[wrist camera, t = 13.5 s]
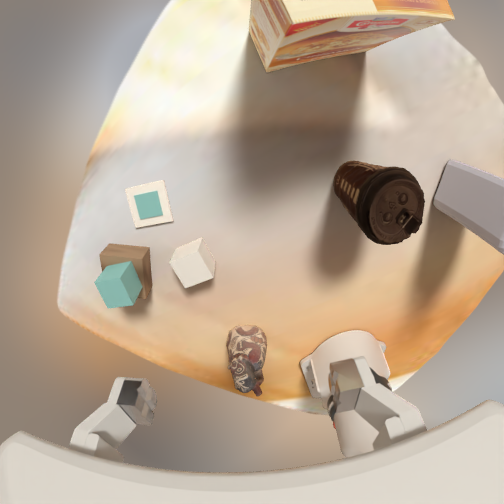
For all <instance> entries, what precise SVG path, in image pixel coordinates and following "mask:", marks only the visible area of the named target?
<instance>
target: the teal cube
mask: <svg viewBox="0 0 504 504" xmlns="http://www.w3.org/2000/svg"><path fill="white" fill-rule="evenodd" d="M94 283H95V285H96V287H97V289H98V291H99V292H100V294H101V296H102V298H103V300H104V302H105V304H106V306H107V308H116V307H124V306H132V305H134V303H135V301H136V299H137V297H138V295H139V293H140V291H141V289H142V284H141V282H140V280H139V278H138V275H137V273H136V271H135V268H134V266H133V264H132V261H129V262H124V263H119V264H114V265H109V266H107V267H106V268H105V269H104V270H103V272H102V273H101V274H100V276H99V277H98V278H97V280H96V281H95V282H94Z"/></svg>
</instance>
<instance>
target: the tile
mask: <svg viewBox="0 0 504 504" xmlns="http://www.w3.org/2000/svg"><path fill="white" fill-rule="evenodd" d="M125 191H126V195H127V199H128V202H129V206H130V210H131V213H132V217H133V220H134V224H135V227H136V228H138V227H143V226H148V225H154V224H160V223H165V222H171V221H173V216H172V211H171V207H170V203H169V199H168V194H167V190H166V186H165V181H164V180H161V181H156V182H152V183H147V184H143V185H139V186H134V187H130V188H126V189H125Z"/></svg>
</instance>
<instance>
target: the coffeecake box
mask: <svg viewBox="0 0 504 504" xmlns="http://www.w3.org/2000/svg"><path fill="white" fill-rule="evenodd" d="M450 20H455V18H454V15H453V13H452V10H451V8H450V6H449V4H448V2H447V0H251V10H250V21H249V32H250V35H251V37H252V40H253V42H254V44H255V47H256V49H257V52H258V54H259V56H260V58H261V61H262V63H263V65H264V68H265V70H266V72H267V73H268V72H272V71H275V70H279V69H283V68H287V67H291V66H295V65H299V64H303V63H307V62H312V61H316V60H321V59H326V58H331V57H336V56H342V55H348V54H354V53H361V52H366V51H368V50H370V49H373V48H375V47H377V46H379V45H381V44H384V43H386V42H389V41H391V40H394V39H396V38H399V37H401V36H404V35H407V34H409V33H412V32H415V31H418V30H421V29H424V28H427V27H430V26H433V25H436V24H439V23H443V22H446V21H450Z"/></svg>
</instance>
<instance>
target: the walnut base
mask: <svg viewBox="0 0 504 504" xmlns="http://www.w3.org/2000/svg"><path fill="white" fill-rule="evenodd" d="M100 261H101V267H102V272H103V270H104V269H105V268H106V267H107V266H109V265H114V264H119V263H124V262H129V261H132V264H133V266H134V268H135V271H136V273H137V275H138V278H139V280H140V282H141V284H142V289H141V291H140V293H139V295H138V297H137V298H142V299H146V298H147V296H148V294H149V292H150V290H151V287H152V276H151V263H150V247H141V246H130V245H120V244H109V245H108V246H107V247H106V248H105V249H104V250H103V251H102V252H101V253H100Z"/></svg>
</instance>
